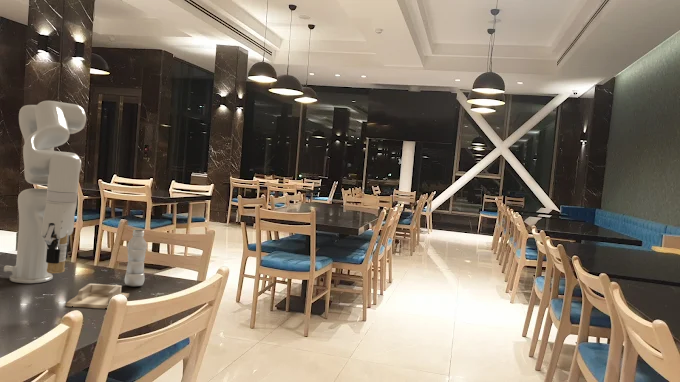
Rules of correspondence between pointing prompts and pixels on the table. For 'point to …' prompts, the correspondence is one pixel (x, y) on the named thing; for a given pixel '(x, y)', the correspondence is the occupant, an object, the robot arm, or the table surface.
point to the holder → (95, 296)
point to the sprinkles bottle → (59, 266)
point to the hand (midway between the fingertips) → (56, 260)
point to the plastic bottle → (136, 259)
